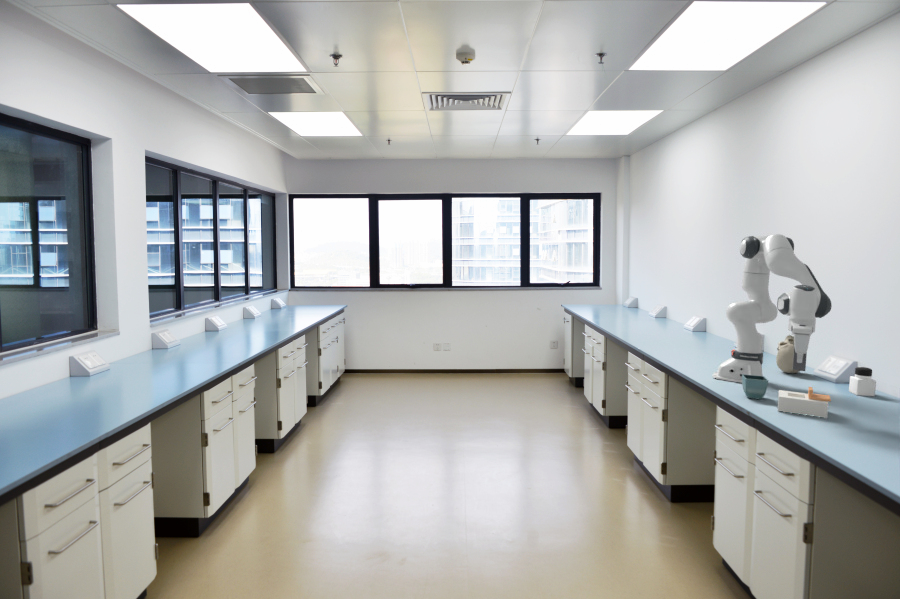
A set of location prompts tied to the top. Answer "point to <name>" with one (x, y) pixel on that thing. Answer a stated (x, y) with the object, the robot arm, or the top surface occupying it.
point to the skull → (786, 355)
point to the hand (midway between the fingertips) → (799, 361)
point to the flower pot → (754, 386)
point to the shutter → (817, 396)
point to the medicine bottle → (862, 382)
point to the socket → (801, 404)
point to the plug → (799, 365)
